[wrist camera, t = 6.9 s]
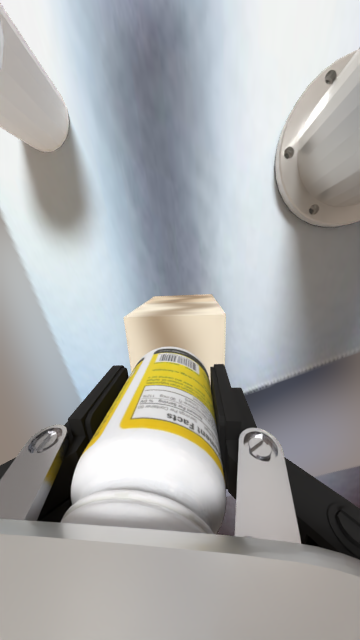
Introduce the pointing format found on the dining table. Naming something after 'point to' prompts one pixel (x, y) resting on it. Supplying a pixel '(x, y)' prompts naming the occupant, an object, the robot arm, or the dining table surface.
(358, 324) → the dining table surface
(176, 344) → the top block
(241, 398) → the robot arm
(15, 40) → the white cup
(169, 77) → the dining table surface
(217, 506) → the supplement bottle
